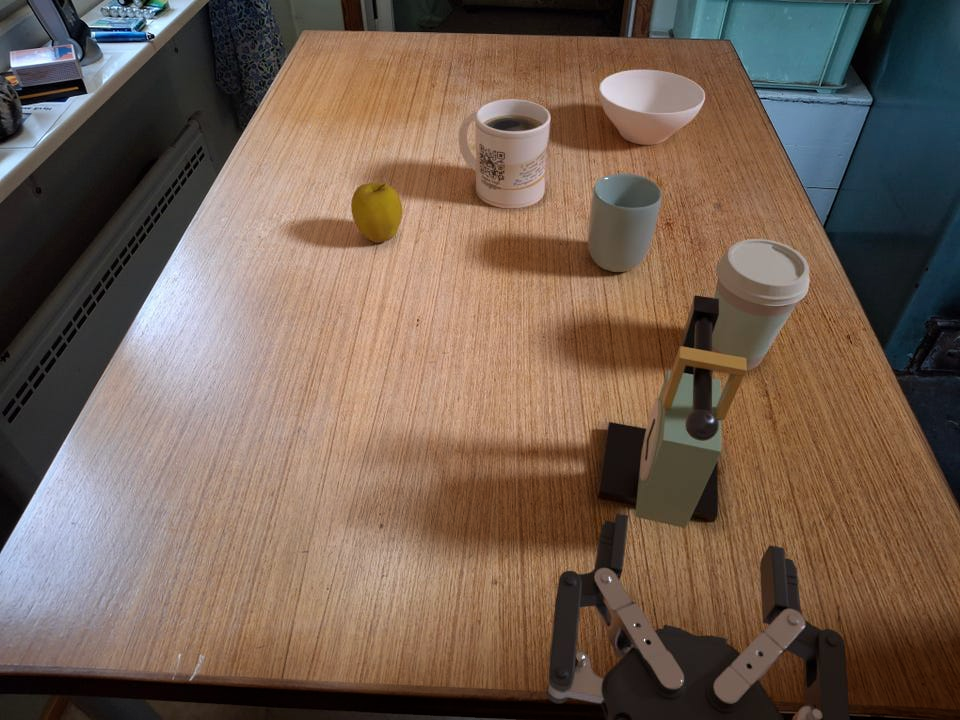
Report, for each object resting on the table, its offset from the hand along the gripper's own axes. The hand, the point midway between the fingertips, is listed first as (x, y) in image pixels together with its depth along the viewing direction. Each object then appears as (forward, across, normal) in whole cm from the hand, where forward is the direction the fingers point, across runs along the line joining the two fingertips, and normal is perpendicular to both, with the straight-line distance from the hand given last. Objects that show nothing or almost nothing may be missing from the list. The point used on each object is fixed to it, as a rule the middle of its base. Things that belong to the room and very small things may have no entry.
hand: (693, 536), depth 39 cm
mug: (+61, +24, +16) cm, 68 cm away
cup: (+47, +7, +16) cm, 50 cm away
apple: (+45, +37, +16) cm, 60 cm away
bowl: (+82, +6, +16) cm, 84 cm away
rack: (+13, 0, +16) cm, 21 cm away
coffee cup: (+34, -7, +16) cm, 38 cm away
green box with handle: (+12, 0, +12) cm, 17 cm away
